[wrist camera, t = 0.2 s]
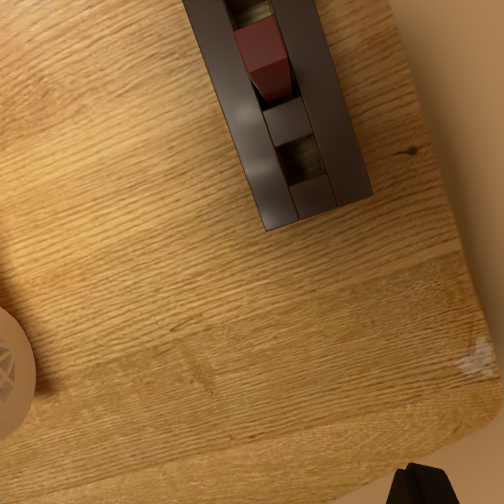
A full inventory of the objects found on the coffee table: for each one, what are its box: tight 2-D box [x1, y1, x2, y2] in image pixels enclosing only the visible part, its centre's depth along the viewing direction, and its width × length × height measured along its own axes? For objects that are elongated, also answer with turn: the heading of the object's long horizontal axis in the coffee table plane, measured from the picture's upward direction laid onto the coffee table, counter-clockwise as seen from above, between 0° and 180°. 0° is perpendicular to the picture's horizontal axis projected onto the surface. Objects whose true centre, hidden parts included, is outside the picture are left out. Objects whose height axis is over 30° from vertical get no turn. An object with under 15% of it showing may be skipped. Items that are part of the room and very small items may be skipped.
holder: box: [182, 0, 374, 232], centre depth 27 cm, size 7×16×5 cm, turn 20°
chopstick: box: [234, 15, 293, 108], centre depth 22 cm, size 2×2×14 cm
